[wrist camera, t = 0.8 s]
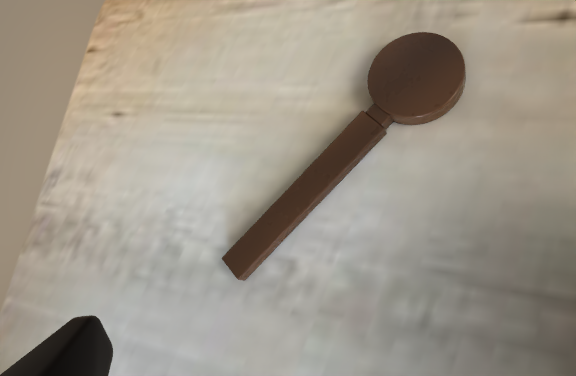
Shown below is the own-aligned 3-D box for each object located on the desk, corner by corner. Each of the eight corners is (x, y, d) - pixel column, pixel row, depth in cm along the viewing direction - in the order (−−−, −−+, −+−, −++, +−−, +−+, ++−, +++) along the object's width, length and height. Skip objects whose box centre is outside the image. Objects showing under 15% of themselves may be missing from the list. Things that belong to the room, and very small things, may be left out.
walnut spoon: (487, 72, 22) (487, 62, 21) (261, 303, 24) (253, 302, 23) (415, 27, 24) (412, 16, 24) (213, 240, 26) (203, 237, 25)
